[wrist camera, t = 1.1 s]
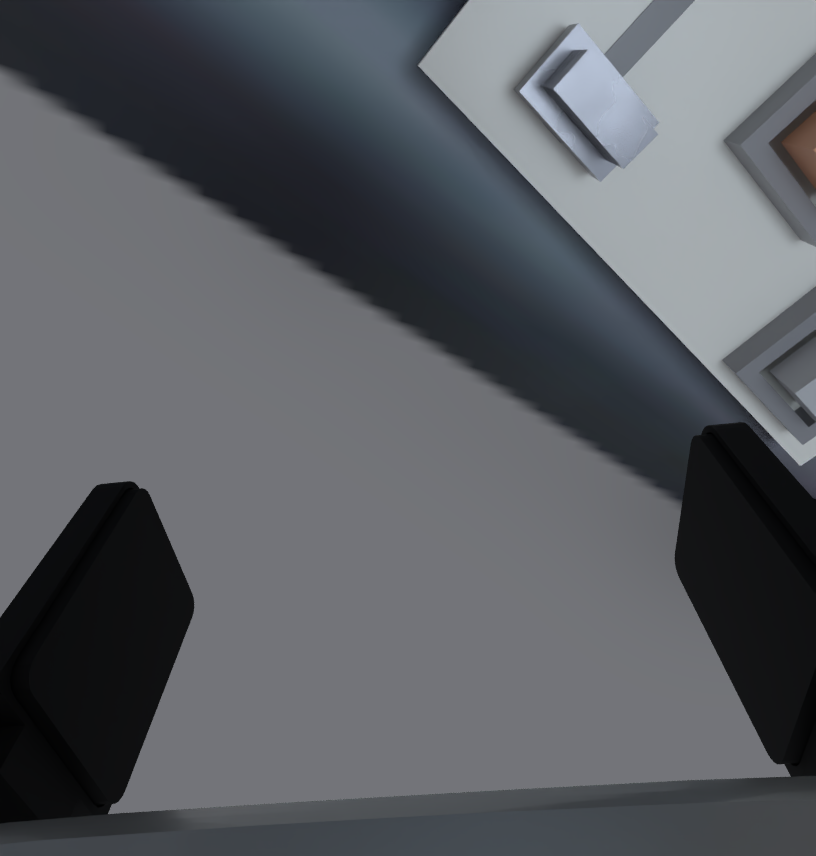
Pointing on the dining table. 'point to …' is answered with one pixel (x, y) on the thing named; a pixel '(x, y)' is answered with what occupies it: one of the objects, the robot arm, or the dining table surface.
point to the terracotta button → (804, 147)
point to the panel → (676, 168)
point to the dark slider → (587, 104)
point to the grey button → (800, 376)
